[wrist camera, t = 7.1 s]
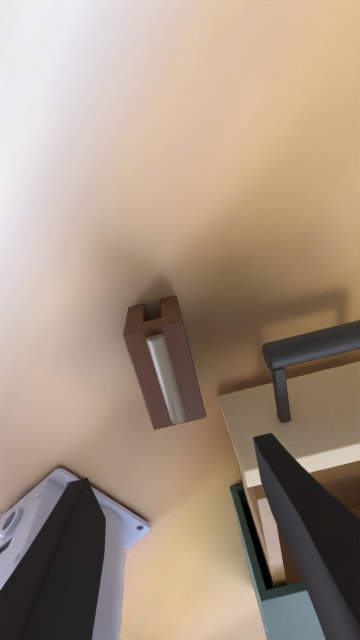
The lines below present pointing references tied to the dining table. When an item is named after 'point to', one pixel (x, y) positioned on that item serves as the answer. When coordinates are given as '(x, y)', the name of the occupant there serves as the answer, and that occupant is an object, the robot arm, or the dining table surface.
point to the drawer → (300, 431)
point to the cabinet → (278, 603)
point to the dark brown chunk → (163, 364)
